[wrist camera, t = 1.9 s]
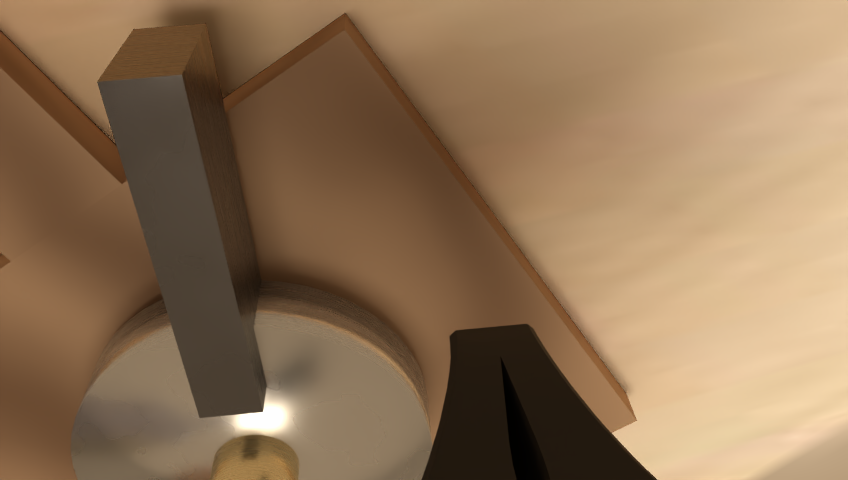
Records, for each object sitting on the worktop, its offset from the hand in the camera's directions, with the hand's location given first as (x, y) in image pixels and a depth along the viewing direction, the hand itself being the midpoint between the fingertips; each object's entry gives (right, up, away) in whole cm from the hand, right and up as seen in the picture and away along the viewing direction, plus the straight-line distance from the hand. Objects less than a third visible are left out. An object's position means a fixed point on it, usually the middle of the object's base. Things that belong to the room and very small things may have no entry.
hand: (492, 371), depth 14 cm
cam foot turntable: (-6, 0, +9) cm, 11 cm away
